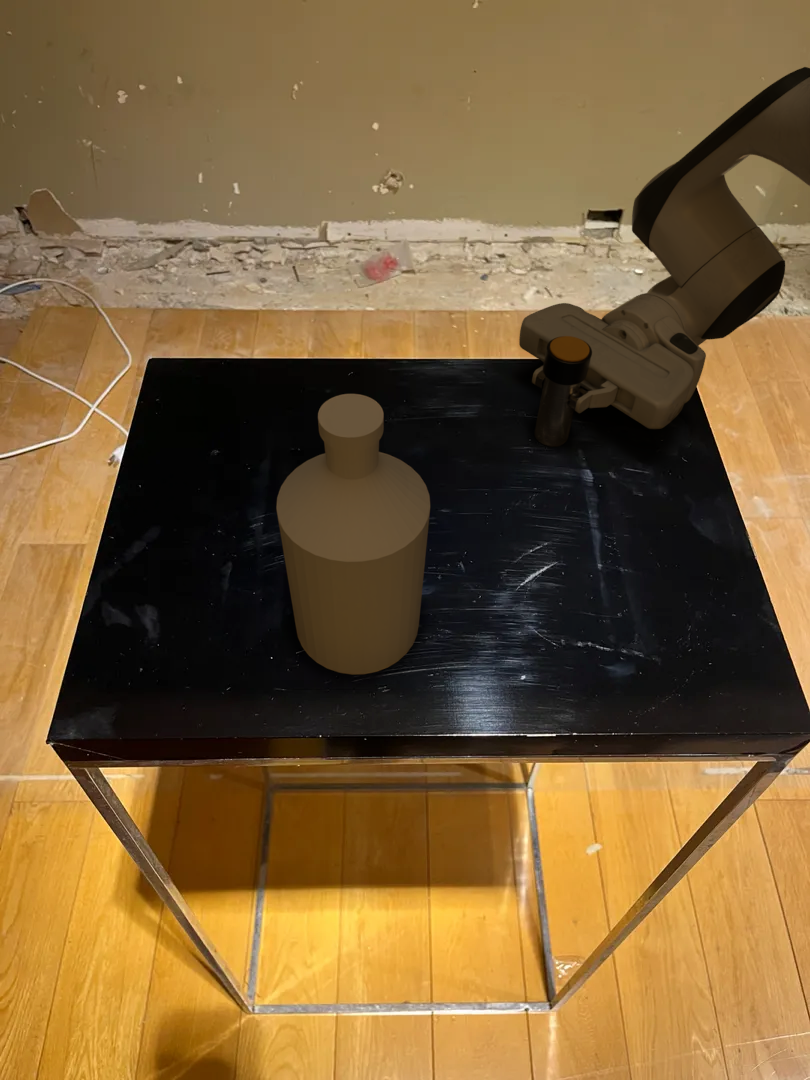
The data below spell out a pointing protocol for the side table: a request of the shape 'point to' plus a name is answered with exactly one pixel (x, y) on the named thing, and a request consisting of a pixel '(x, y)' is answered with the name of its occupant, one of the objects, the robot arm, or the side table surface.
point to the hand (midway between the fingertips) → (555, 393)
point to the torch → (560, 387)
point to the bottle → (354, 543)
